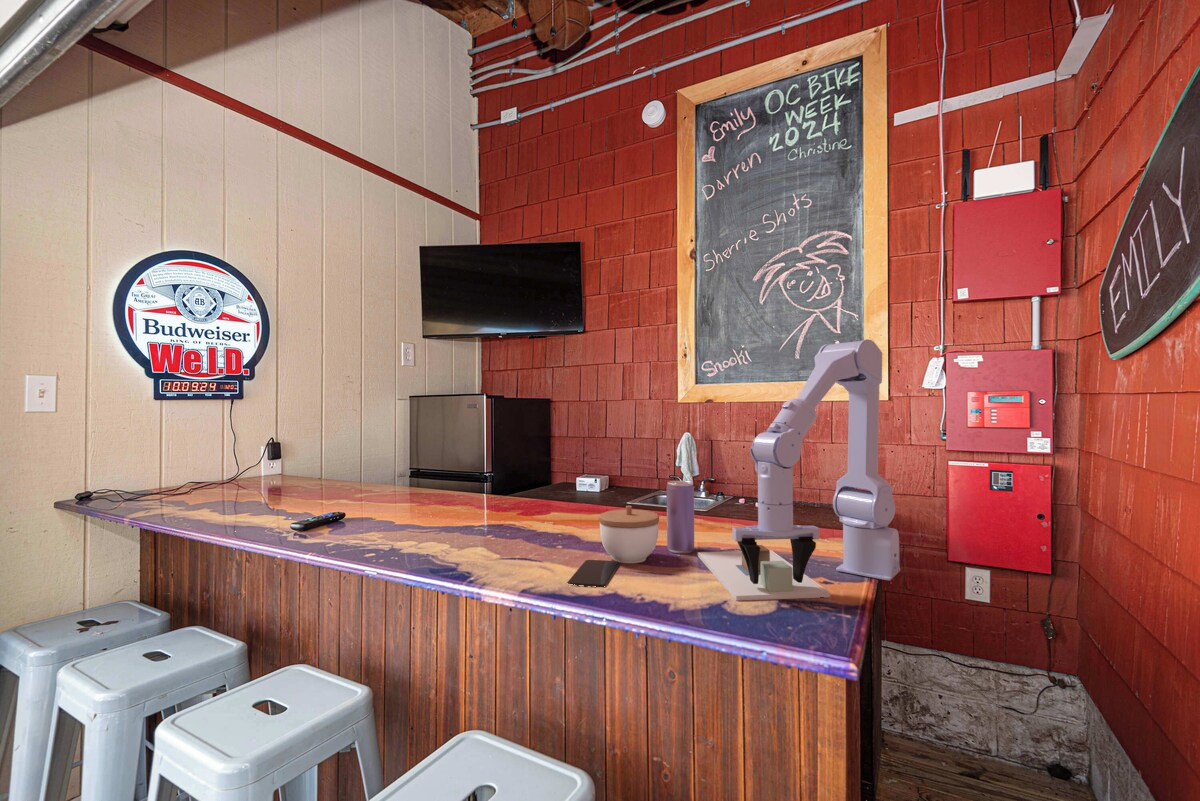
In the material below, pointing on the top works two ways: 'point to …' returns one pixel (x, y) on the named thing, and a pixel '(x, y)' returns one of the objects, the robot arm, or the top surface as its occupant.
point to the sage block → (776, 576)
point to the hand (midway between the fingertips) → (775, 581)
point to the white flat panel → (742, 588)
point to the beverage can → (680, 516)
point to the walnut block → (763, 556)
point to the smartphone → (594, 573)
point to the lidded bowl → (629, 534)
